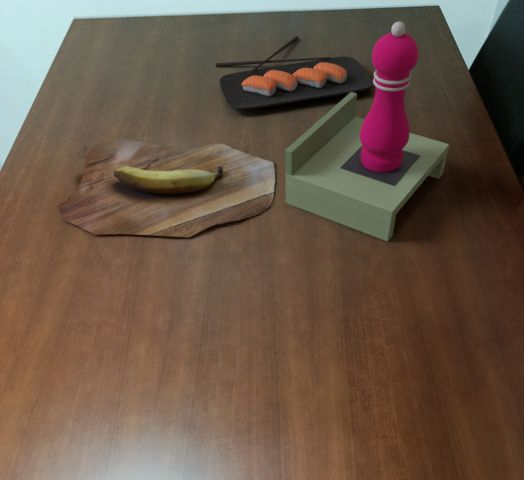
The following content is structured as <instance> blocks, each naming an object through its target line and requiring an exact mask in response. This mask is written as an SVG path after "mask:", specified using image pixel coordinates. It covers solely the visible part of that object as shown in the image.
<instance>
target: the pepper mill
mask: <svg viewBox="0 0 524 480" xmlns="http://www.w3.org/2000/svg"><path fill="white" fill-rule="evenodd" d="M390 29H391V31H390V32H388V33H386V34H384V35H382V36H381V37H380V38H379V39H378V40H377V41H376V43H375V45H374V47H373V49H372V55H371V63H372V65H373V68H374V69H375V70H374V72H373V80H372V82H373V86H374V87H375V93H374V97H373V98H374V99H373V102H372V105H371V108H370V109H369V111H368V113H367V114H366V116H365V117H364V118H363V119H364V121H363V124H362V126H361V130H360V141H361V143H362V145H363V147H362V150H361V163H362V165H363V166H364V167H365V168H367V169H369V170H371V171H375V172H390V171H393V170H395V169H397V168H398V167H399V166H400V165H401V163H402V157H403V150H402V149H403V148H404V147H405V146H406V145H407V143H408V140H409V133H411V132H410V123H409V119H408V115H407V112H406V108H405V93H406V90H407V88H408V87H409V86H410V84H411V78H412V73H411V71H412V70H413V69H414V68H415V66H416V65H417V63H418V59H419V47H418V44H417V42H416V40H415V39H414V37H412V36H411V35H409V34H407V33H406V24H405V23H404V22H403V21H399V20H398V21H396V22H394V23H393V24H392V26H391V28H390Z"/></svg>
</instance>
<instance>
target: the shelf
mask: <svg viewBox="0 0 524 480" xmlns="http://www.w3.org/2000/svg"><path fill="white" fill-rule="evenodd" d="M357 99H358V92H355V93H353V92H350V93H349V94H346V96H345V97H343V99H340V101H339V102H338V103H337V104H335V105H334V106H333V107H332V108H331V109H330V110H329V111H327V112H326V113H325V114H324V115H322V116H321V118H320V119H319V120H318V121H316V122H315V123H314V124H313V125H312V126H311V127H309V128H308V129H307V130H306V131H305V132H304V133H303V134H302V135H300V136H299V138H297V139H296V140H295V141H294V142H293V143H292V144H290V145H289V146H288V147H287V148H286V149H285V150H284V152H285V153H284V160H285V161H284V162H285V163H284V164H285V166H284V167H285V169H284V170H285V172H284V174H285V204H287V205H289V206H292V207H295V208H297V209H300V210H303V211H305V212H308V213H311V214H313V215H315V216H318V217H321V218H324V219H327V220H329V221H332V222H334V223H337V224H340V225H341V226H345V227H348V228H349V229H353V230H356V231H358V232H361V233H363V234H367V235H368V236H372V237H374V238H377V239H379V240H382V241H385V242H389V241H390V240H391V239H392V237H393V235H394V229H395V223H396V218H397V214H398V213H399V212H400V210H401V209H402V208H403V207H404V205H405V204H406V203H407V202H408V201H409V199H410V198H411V197H412V196H413V194H414V193H415V192H416V191H417V190H418V189H419V188H420V186H421V185H422V184H423V183H424V182H425V180H426V179H427V178H428V177H431V178H434V179H437V180H440V179H441V177H442V175H443V174H444V171H445V166H446V161H447V157H448V153H449V148H450V144H449V143H446V142H443V141H439V140H435V139H432V138H429V137H426V136H422V135H418V134H415V133H413V132H409V140H408V143H407V145H406V146H405V147H404V148H403V149H402V150H403V157H402V163H401V165H400V166H399V167H398V168H397V169H395V170H393V171H390V172H375V171H371V170H369V169H367V168H365V167H364V166H363V165H362V163H361V150H362V147H363V145H362V143H361V141H360V130H361V126H362V124H363V121H364V119H365V118H361V117H358V116H356V113H357V112H356V111H357V102H358V101H357Z"/></svg>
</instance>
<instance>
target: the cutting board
mask: <svg viewBox="0 0 524 480" xmlns="http://www.w3.org/2000/svg"><path fill="white" fill-rule="evenodd" d="M86 157H87V158H86V163H85V170H84V172H83V176H82V177H81V180H80V183H79V185H78V186H77V187H76V189H75V190H74V191H73V193H72V194H71V195H70V196H69V197H68V198H67V199H66V200H65V201H63V202H61V203H59V204H57V205H55V207H56V208H59V209H60V211H61V218H62V220H63V221H65V222H68V223H70V224H72V225H74V226H76V227H79V228H80V229H82V230H84V231H87V232H88V233H91V234H92V235H94V236H102V235H135V236H136V235H137V236H153V237H155V236H157V237H175V238H177V237H178V238H191V237H192V236H194V235H197V234H199V233H200V232H202V231H204V230H206V229H208V228H211V227H213V226H216V225H217V226H219V225H224V224H228V223H229V222H239V221H242V220H246V219H247V218H251V217H255V216H258V215H260V214H262V213H263V212H265V211H266V210H268V209H269V208H270V207H271V205H272V203H273V200H274V196H275V185H276V184H275V183H276V169H275V164H274V161H270V160H267V159H265V158H261V157H259V156H255V155H253V154H249V153H247V152H244V151H242V150H239V149H237V148H233V147H231V146H229V145H227V144H224V143H218V142H217V143H215V142H214V143H211V144H205V145H203V146H198V147H189V148H180V147H174V146H171V145H164V144H158V143H157V144H156V143H151V142H146V141H141V140H137V139H131V138H129V139H116V140H106V141H103V142H100V143H97V144H94V146H93V147H92V148H91V149H90V150H89V151H88V152H87V156H86Z"/></svg>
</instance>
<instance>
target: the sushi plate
mask: <svg viewBox="0 0 524 480" xmlns="http://www.w3.org/2000/svg"><path fill="white" fill-rule="evenodd" d="M298 40H299V36H298V35H295V36H293V38H291V39H290V40H289V41H287V42H286V43H284V44H283V46H281V47H280V48H278V49H277V50H276V51H275V52H274V53H272V54H271V55H270V56H268V58H266V59H264V60H251V61H250V60H249V61H248V60H246V61H229V62H226V61H225V62H216V63H215V67H216V68H221V67H233V66H234V67H236V66H247V65H249V66H250V65H257V66H255V67H254V68H253V69H250V70H244V71H243V70H242V71H237V72H232V73H228V74H224V75H223V76H220V78H219V87H220V89H221V92H222V94H223V97H224V99H225V102H226V103H227V105H228V106H229V107H230V108H231V110H235V111H247V110H249V111H250V110H256V109H262V108H263V109H264V108H268V107H269V108H270V107H274V106H275V107H276V106H281V105H287V104H295V103H299V102H306V101H312V100H318V99H325V98H332V97H338V96H343V95H348V94H349V93H350V92H353V93H360V92H364V91H368V90H370V89H371V88H373V86H374V84H373V80H372V78H371V76H370V75H369V73H368V71H366V69H365V68H364V67H363V66H362V65H361V63H360V62H359V61H358V60H357V59H355V58H354V57H352V56H334V57H331V56H323V57H322V56H321V57H307V58H306V57H305V58H304V57H303V58H289V59H288V58H287V59H272V58H274V57H275V56H277V55H278V54H280V53H281V52H282V51H284V50H285V49H287V48H289V47H290V46H291V45H292V44H293V43H295V42H296V41H298ZM287 62H295V63H289V64H282V65H275V66H269V67H262V68H260V67H261V66H263V65H264V64H276V63H287Z"/></svg>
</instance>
